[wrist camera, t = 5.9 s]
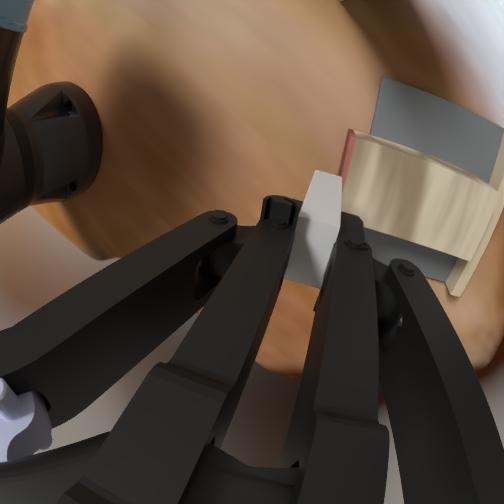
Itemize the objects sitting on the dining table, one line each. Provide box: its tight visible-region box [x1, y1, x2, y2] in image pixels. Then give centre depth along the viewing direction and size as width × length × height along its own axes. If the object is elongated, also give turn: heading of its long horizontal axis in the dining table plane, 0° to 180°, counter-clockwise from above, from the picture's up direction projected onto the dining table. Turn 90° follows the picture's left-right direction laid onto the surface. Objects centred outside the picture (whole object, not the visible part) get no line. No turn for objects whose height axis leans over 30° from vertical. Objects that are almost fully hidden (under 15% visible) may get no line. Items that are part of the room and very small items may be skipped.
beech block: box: [337, 129, 500, 261], centre depth 20 cm, size 4×6×12 cm
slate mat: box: [363, 77, 504, 297], centre depth 21 cm, size 13×16×3 cm
